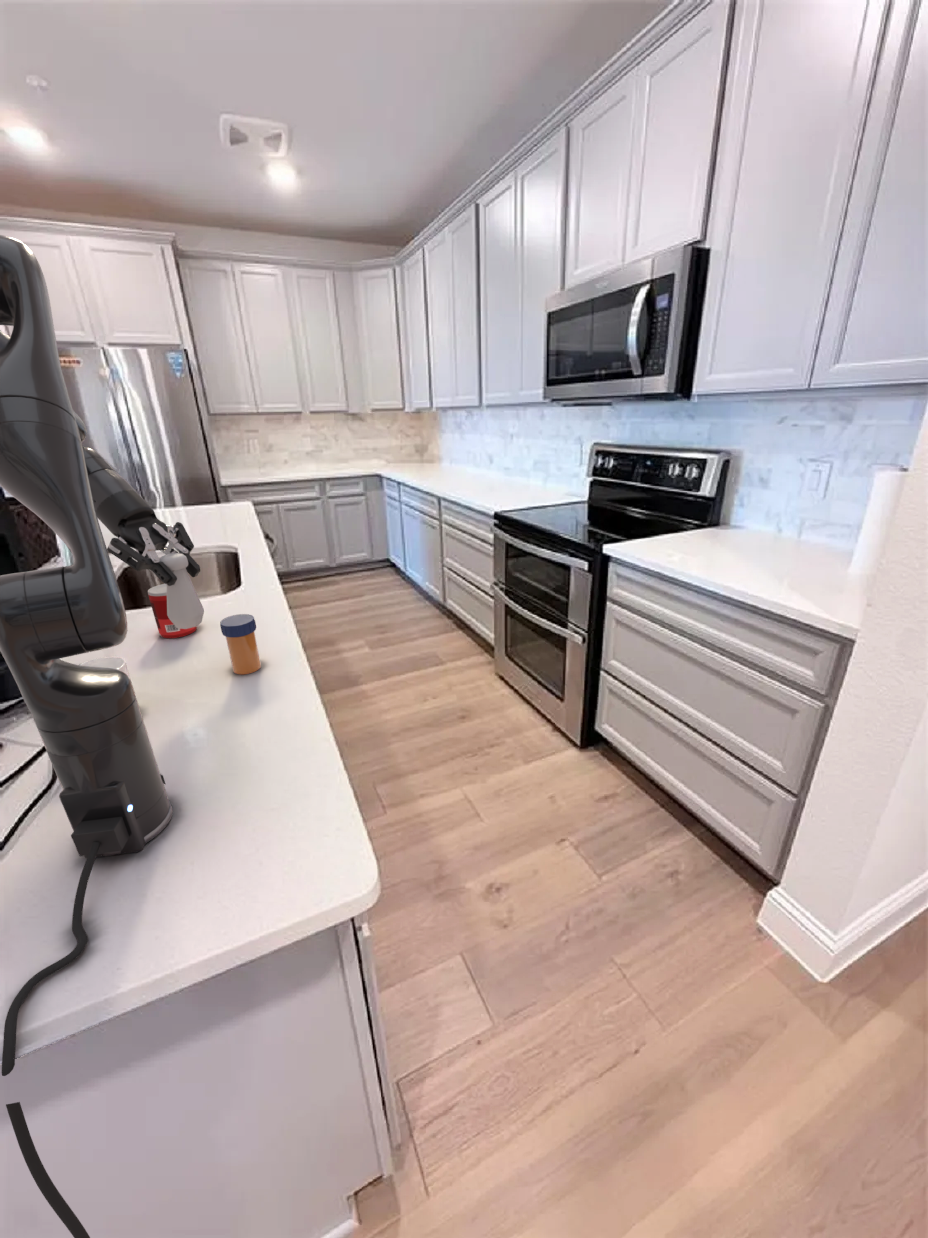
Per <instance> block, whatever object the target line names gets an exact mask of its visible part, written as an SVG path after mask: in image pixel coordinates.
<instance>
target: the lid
mask: <svg viewBox="0 0 928 1238" xmlns="http://www.w3.org/2000/svg"><path fill="white" fill-rule="evenodd" d="M256 623H257V622H256V619H255V616H254V615H253V614H248V613H240V614H233V615H229V616H226V617H224V618H222V619H220V623H219V624H220V631H221V634H222V636H224V637H225V638H226V637H241V636H245V635H248V634H250V633H252V632H255V631H256V630H257V624H256Z"/></svg>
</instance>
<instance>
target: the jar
mask: <svg viewBox="0 0 928 1238" xmlns="http://www.w3.org/2000/svg"><path fill="white" fill-rule="evenodd" d="M225 640H226V645H227V650H228V654H229V658H230V663H231V668H232V671H233V672H232V673H234V674H235V675H249V674H252V673H256V672H257V671H259V670H260V669H261V668H262V663H261V659H260V653H259V647H258V643H257V642H258V641H257V637H256V632H255V631H254V632H252V633H250V634H248V635H245V636H241V637H226V636H225Z"/></svg>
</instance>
